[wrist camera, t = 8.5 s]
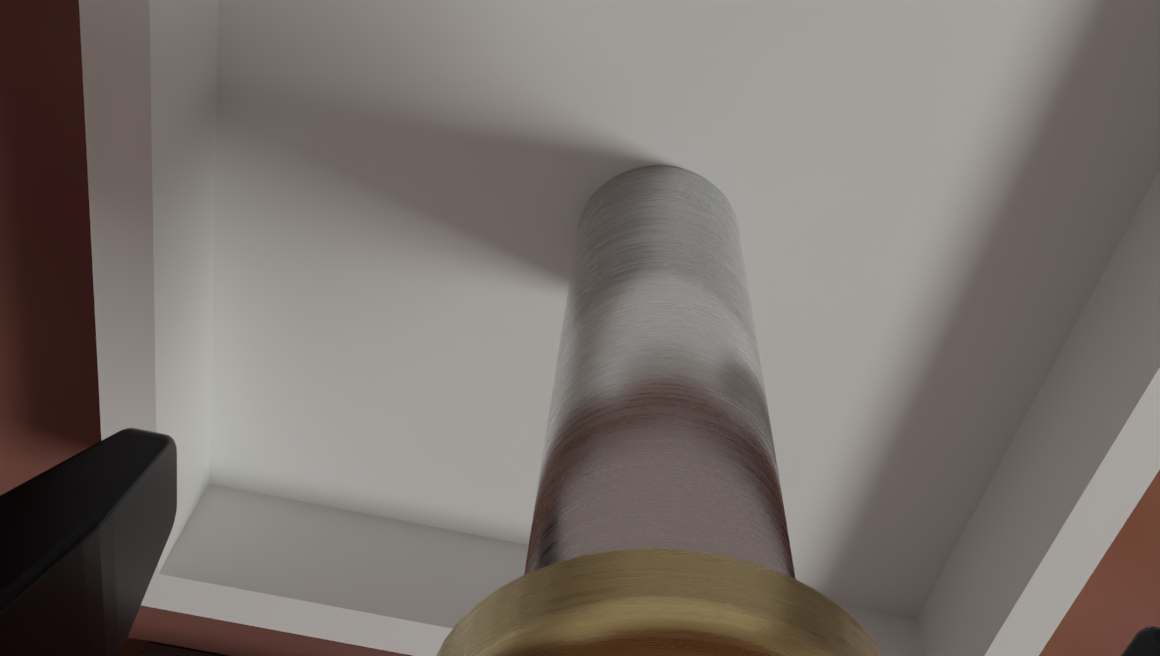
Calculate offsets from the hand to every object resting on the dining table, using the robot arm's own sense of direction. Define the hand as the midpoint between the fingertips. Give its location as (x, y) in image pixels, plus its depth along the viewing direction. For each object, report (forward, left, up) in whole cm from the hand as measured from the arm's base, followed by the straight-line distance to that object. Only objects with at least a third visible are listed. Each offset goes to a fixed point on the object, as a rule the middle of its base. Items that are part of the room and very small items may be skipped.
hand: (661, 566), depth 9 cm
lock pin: (0, 0, -7) cm, 7 cm away
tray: (0, 0, -8) cm, 8 cm away
